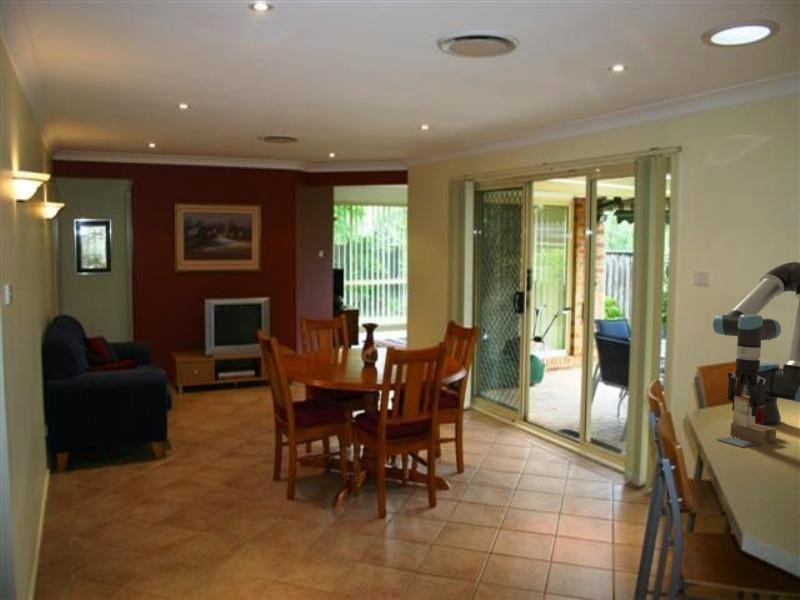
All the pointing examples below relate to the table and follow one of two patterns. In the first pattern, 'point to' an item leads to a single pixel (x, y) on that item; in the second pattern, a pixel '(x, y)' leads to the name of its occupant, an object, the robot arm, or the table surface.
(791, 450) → the table surface
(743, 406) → the block
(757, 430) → the step
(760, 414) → the canned food
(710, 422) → the table surface
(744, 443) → the mat
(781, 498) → the table surface
